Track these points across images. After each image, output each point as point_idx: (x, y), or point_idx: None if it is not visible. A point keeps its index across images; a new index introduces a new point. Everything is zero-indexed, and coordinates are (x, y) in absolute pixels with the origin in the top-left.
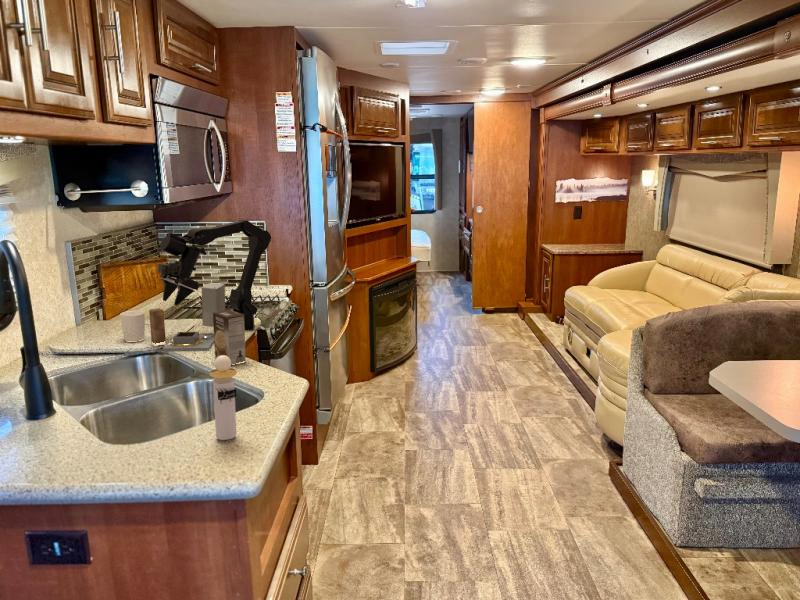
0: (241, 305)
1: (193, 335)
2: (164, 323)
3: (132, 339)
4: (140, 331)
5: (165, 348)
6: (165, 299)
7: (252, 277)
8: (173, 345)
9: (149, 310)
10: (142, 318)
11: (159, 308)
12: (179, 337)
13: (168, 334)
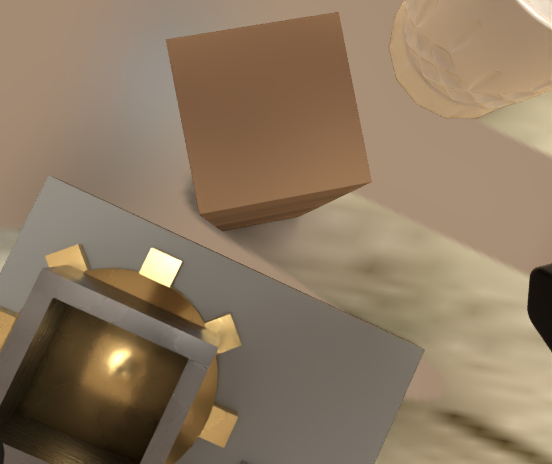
0: None
1: (18, 450)
2: (212, 223)
3: (399, 14)
4: (421, 54)
5: (40, 194)
6: (545, 319)
7: None
8: (46, 258)
9: (320, 18)
10: (492, 31)
11: (352, 176)
12: (17, 319)
13: (507, 302)
